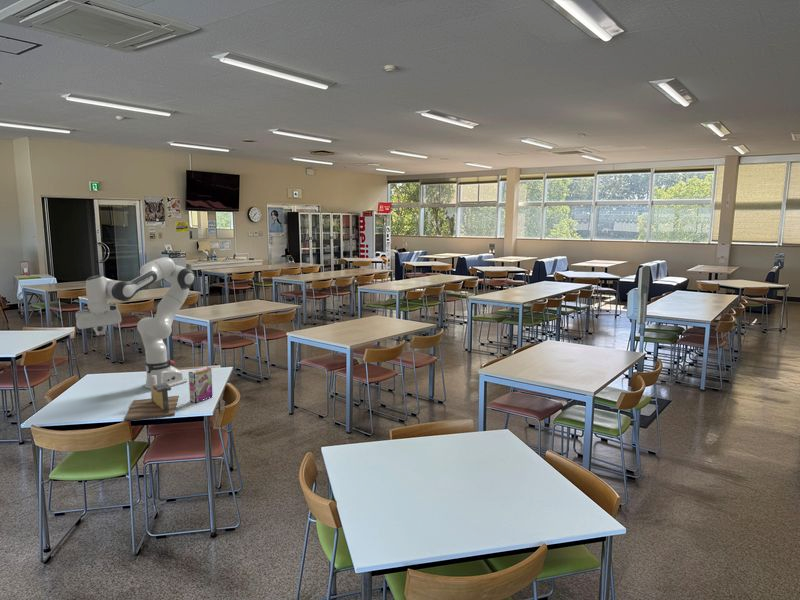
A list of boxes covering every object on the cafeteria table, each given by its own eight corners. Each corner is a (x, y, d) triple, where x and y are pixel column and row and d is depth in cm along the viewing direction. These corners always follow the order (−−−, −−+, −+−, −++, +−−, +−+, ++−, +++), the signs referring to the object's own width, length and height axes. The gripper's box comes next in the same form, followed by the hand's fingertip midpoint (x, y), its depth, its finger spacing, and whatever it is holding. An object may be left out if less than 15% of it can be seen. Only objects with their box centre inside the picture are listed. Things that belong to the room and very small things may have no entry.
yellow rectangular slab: (150, 400, 279) (148, 375, 277) (157, 398, 281) (155, 374, 279) (162, 410, 264) (160, 384, 262) (169, 408, 266) (167, 383, 264)
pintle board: (133, 402, 281) (131, 377, 278) (178, 397, 287) (176, 373, 285) (124, 421, 254) (121, 394, 252) (174, 415, 261) (172, 389, 259)
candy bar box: (196, 403, 278) (194, 373, 275) (189, 401, 280) (187, 371, 278) (213, 397, 287) (211, 367, 285) (207, 395, 290) (205, 366, 287)
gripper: (77, 311, 259) (80, 339, 261) (121, 305, 274) (123, 332, 277) (72, 310, 263) (75, 337, 266) (116, 304, 278) (119, 330, 281)
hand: (100, 334), depth 271 cm, fingers closed
